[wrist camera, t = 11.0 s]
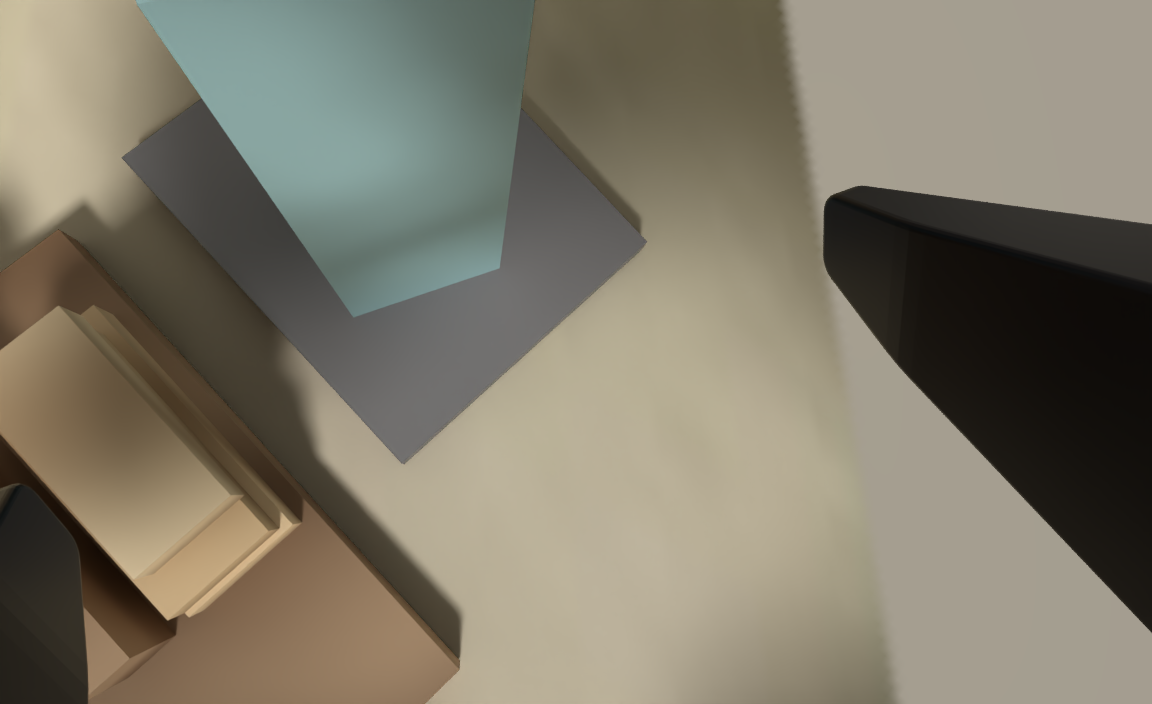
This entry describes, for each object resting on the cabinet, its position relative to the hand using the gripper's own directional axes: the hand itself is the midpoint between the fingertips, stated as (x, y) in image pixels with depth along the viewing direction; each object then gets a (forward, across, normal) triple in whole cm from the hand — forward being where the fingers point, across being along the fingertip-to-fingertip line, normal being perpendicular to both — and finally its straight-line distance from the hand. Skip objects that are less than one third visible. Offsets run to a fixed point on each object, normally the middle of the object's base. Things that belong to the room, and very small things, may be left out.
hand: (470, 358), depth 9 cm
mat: (+9, 0, +2) cm, 9 cm away
